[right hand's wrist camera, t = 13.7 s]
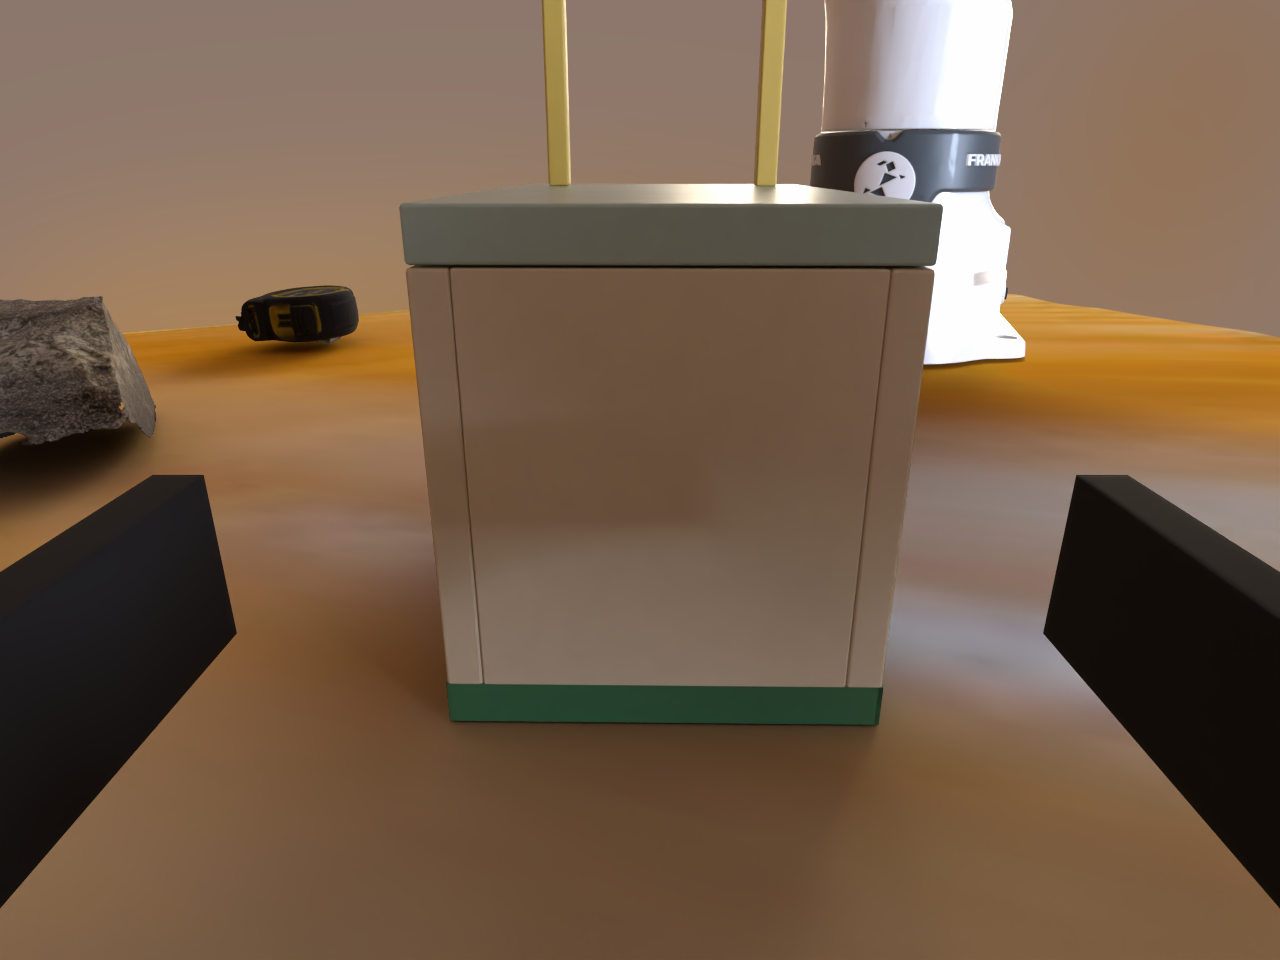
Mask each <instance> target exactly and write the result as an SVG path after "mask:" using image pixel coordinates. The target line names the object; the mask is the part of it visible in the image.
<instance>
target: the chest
mask: <svg viewBox="0 0 1280 960" xmlns="http://www.w3.org/2000/svg"><path fill="white" fill-rule="evenodd" d="M406 278H407V288H408V298H409V308H410V318H411V328H412V337H413V347H414V357H415V367H416V377H417V386H418V396H419V406H420V416H421V426H422V436H423V445H424V455H425V465H426V475H427V485H428V494H429V504H430V514H431V524H432V534H433V543H434V553H435V563H436V573H437V583H438V593H439V602H440V612H441V622H442V632H443V642H444V651H445V661H446V671H447V684H446V685H447V695H448V704H449V714H450V721H538V722H640V723H742V724H845V725H878V724H879V716H880V708H881V701H882V693H883V686H882V680H883V673H884V665H885V657H886V650H887V642H888V634H889V626H890V619H891V611H892V603H893V596H894V588H895V580H896V572H897V565H898V557H899V549H900V542H901V534H902V526H903V518H904V511H905V503H906V495H907V488H908V480H909V472H910V464H911V457H912V449H913V441H914V434H915V426H916V418H917V410H918V403H919V395H920V387H921V380H922V372H923V364H924V356H925V349H926V341H927V333H928V326H929V318H930V310H931V302H932V295H933V287H934V279H935V271H934V270H933V269H930V268H928V267H925V266H629V265H415V266H413V267H410V268H408V269H407V270H406Z"/></svg>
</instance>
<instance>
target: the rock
mask: <svg viewBox="0 0 1280 960" xmlns="http://www.w3.org/2000/svg"><path fill="white" fill-rule="evenodd" d="M102 298H103V297H101V296H100V297H83V298H81V299H77V300H67V301H62V300H47V301H29V300H23V299H18V300H0V438H3V437H7V436H10V435H14V434H15V433H19V434H22V435H25V436H27V439H28V441H27V442H22V443H20V444H22V445H27V444H28V445H32V443H35V444H42V443H44V442H45V441H48V440H49V441H55V440H59V439H60V438H61V437H64V436H69V435H71V434H74V433H84V431H87V432H88V430H89V429H90V428H92V429H102V428H106V429H114V428H115V429H117V428H118V427H120V426H121V425H122V424H123V423H124V421H128V422H131V423H136V424H137V425H138V426H139V429H140V430H141V431H143V433H144V434H146V435H147V436H148V437H151V434H153V433H152V432H153V431H154V426H155V421H156V412H155V408H156V406H155V405H154V402H153V400H152V398H151V395H150V392H149V389H148V386H147V384H146V382H145V379H144V377H143V375H142V372H141V370H140V367H139V365H138V363H137V361H136V359H135V356H134V354H133V352H132V350H131V348H130V346H129V344H128V342H127V340H126V339H125V337H124V335H123V334H122V332H121V331H120V330H119V328H118V327H117V325H116V324H115V322H113V320H112V318H111V316H110V314H109V312H108V310H107V309H106V307H105V305H104V304H103V302H102ZM120 402H123V404H124V408H123V410H120V408H119V405H120V406H121V404H120Z"/></svg>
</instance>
